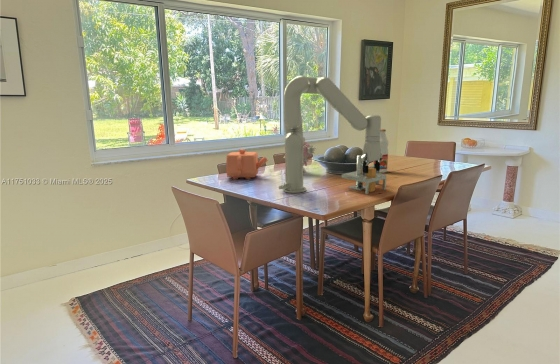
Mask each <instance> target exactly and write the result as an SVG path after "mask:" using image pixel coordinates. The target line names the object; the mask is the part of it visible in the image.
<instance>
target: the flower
mask: <svg viewBox="0 0 560 364" xmlns="http://www.w3.org/2000/svg"><path fill="white" fill-rule="evenodd" d="M315 151H316V148H315V147H314V145H312V144H311V145H310V144H309V143H308V142H307V141H306V138H305V137H304V136H303V172H306V173H307V169H306V168H305V167H307V166H308V162H309V160H310V159H309V158H308V157H311V156H313V154H315ZM282 159H285V155H284V156H283V157H282ZM304 166H305V167H304Z"/></svg>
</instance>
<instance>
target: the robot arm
mask: <svg viewBox="0 0 560 364" xmlns="http://www.w3.org/2000/svg"><path fill="white" fill-rule="evenodd" d="M302 94H309V95H310V94H312V95H313V94H314V95H321V96H322V98H323V99H324V100H325V101H326V102H327V103H328V104H329V105H330V106H331V107H332V108H333V109H334V110H335V111H336V112H337V113H339V114H340V115H341V116H342V117H343V118H344V119H345V120H346V121H347V122H348V123H349V124H350V126H351V128H352V129H354V130H356V131H359V132H361V131H364V130H365V136H364V137H365V138H364V140H365V141H364V143H363V148H362V154H361V155H362V157H361V158H360V159H361V163H362V165H363V173H368V167H370V166H369V163H371V162H372V163H373V161H375V163H374V168H376V171H380V163H381V160H382V156H383V154H381V147H380V130H381V129H382V128H381V127H382V126H381V125H382V117H381V115H378V114H375V115H374V114H372V115H364V114H363V113H362V112H361V111H360V110H359V109H358V108H357V107H356V105H354V103H353V102H352V101H351V100H350V99H349V98H348V97H347V95H345V94H344V92H342V90H341V89H340V88H339V87H338V86H337V85H336V84H335V82H333V81H332V79H330V78H329V77H328V76H321V77H311V76H305V75H298V76H297V75H296V77H294V78H292V79H291V80H290V81H289V82H288V83H287V85H286V87H285V89H284V93H283V108H284V109H283V110H284V112H283V113H284V117H283V121H284V129H285V130H284V132H285V139H284V140H285V141H284V152H285V153H284V156H285V158H284V159H285V163H284V164H285V182H283V184H282V185H279V186H278V190H282V192H284V193H289V194H299V193H304V192H306V191H307V187H305V186H304V171H303V167H304V165H303V157H304V156H303V153H304V152H303V137H304V131H303V116H302V109H301V96H302Z"/></svg>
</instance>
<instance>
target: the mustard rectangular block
mask: <svg viewBox="0 0 560 364" xmlns="http://www.w3.org/2000/svg"><path fill="white" fill-rule="evenodd" d="M366 176H368V177H376V168H368V173H366ZM375 191H376V184H375V181H374V182H370V183H369V192H370V193H371V192H375Z"/></svg>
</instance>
